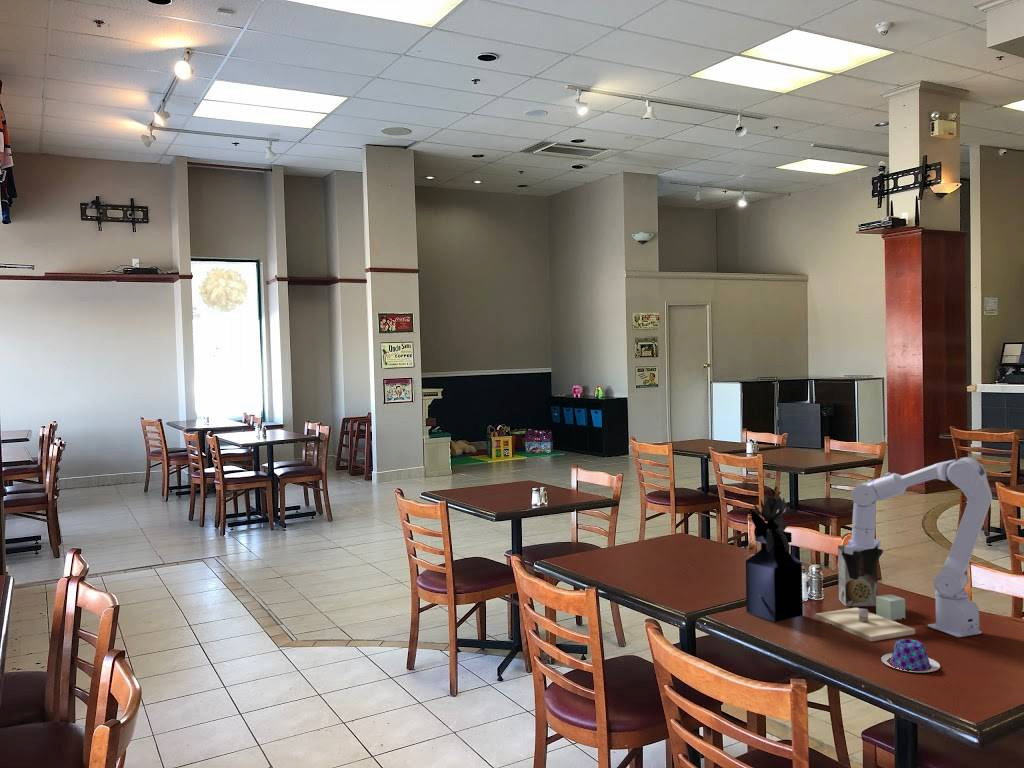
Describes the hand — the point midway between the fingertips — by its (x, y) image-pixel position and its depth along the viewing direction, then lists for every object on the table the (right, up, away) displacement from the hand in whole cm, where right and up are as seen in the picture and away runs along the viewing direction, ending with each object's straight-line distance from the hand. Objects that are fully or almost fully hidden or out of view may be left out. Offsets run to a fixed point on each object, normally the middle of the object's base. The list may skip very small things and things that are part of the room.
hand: (861, 576), depth 218 cm
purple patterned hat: (-5, -12, -36) cm, 38 cm away
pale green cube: (+7, -10, -3) cm, 13 cm away
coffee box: (+3, -10, +10) cm, 15 cm away
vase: (-23, -11, +2) cm, 26 cm away
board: (-4, -11, -10) cm, 15 cm away
